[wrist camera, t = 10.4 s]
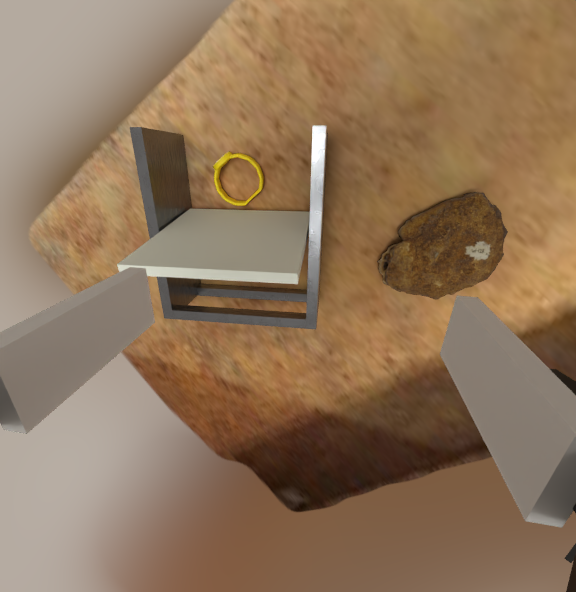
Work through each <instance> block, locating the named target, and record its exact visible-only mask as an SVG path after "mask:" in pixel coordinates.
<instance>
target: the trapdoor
mask: <svg viewBox="0 0 576 592" xmlns="http://www.w3.org/2000/svg"><path fill="white" fill-rule="evenodd" d="M309 222H310V212H304V211H264V210H224V209H189V210H188V211H186V212H185V213H184V214H182V215H181V216H180V217H178V218H177V219H176V220H175V221H173V222H172V223H171V224H169V225H168V226H167V227H165V228H164V229H163V230H161V231H160V232H159V233H158V234H156V235H155V236H154V237H152V238H151V239H150V240H148V241H147V242H146V243H144V244H143V245H142V246H141V247H139V248H138V249H137V250H135V251H134V252H133V253H131V254H130V255H129V256H127V257H126V258H125V259H124V260H122V261H121V262H120V263H118V264H117V266H118V269H119V272H121V271H123V270H125V269H127V268H129V267H136V268H146V273H147V276H157V277H175V278H194V279H212V280H230V281H248V282H267V283H285V284H298V281H299V276H300V271H301V266H302V262H303V257H304V252H305V247H306V242H307V238H308V233H309Z"/></svg>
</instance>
